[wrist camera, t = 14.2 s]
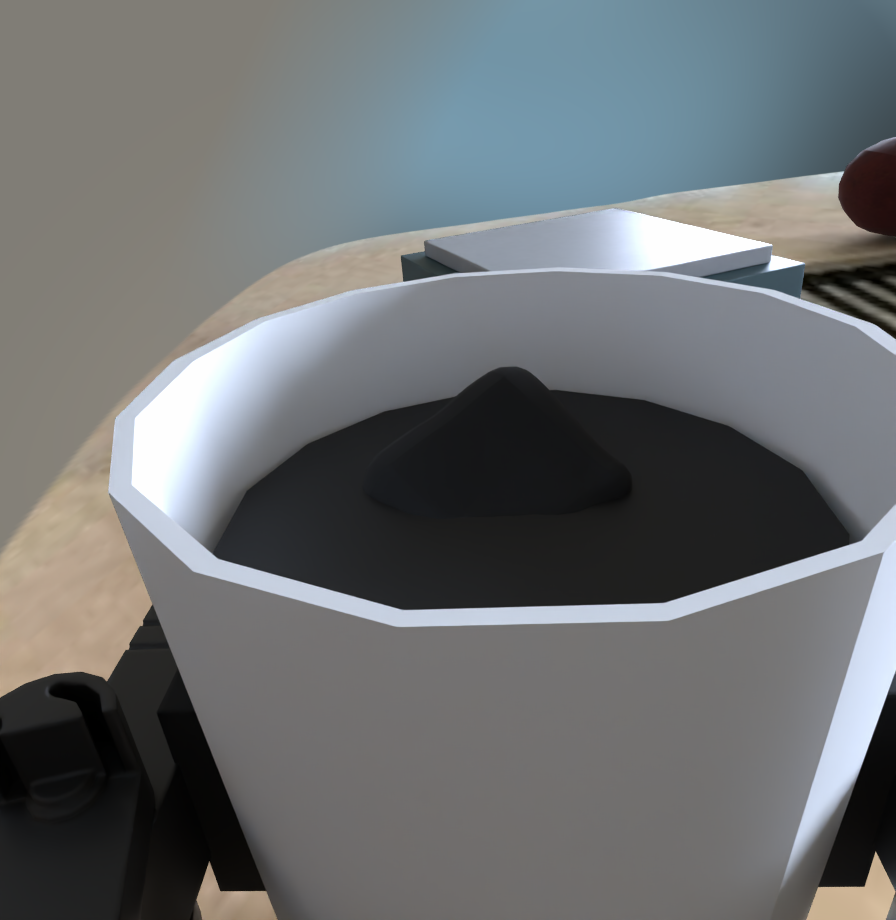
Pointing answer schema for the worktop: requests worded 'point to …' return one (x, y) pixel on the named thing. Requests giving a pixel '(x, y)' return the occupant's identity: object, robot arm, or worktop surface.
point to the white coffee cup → (528, 589)
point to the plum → (871, 188)
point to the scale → (609, 251)
